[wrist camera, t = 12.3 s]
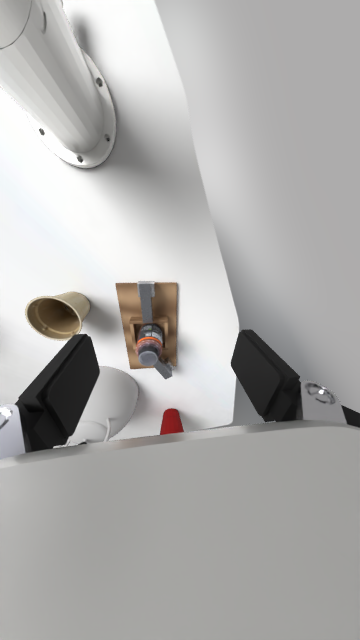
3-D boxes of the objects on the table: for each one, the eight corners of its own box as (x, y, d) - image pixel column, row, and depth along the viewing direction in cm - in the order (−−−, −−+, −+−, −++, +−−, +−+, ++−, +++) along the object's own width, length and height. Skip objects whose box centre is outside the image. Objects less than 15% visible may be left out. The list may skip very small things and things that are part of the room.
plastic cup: (151, 418, 59) (149, 456, 49) (165, 401, 56) (166, 438, 45) (175, 423, 63) (178, 460, 52) (189, 408, 59) (195, 444, 48)
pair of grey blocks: (138, 279, 35) (135, 283, 30) (172, 279, 35) (174, 283, 31) (147, 369, 47) (146, 381, 43) (173, 368, 48) (174, 379, 44)
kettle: (99, 423, 57) (65, 519, 37) (44, 392, 48) (-41, 499, 28) (152, 394, 53) (146, 484, 33) (104, 353, 44) (55, 446, 24)
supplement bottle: (148, 343, 43) (144, 374, 33) (135, 328, 40) (126, 356, 30) (166, 333, 42) (167, 361, 32) (153, 317, 39) (151, 342, 29)
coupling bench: (116, 283, 35) (112, 286, 32) (176, 282, 37) (177, 285, 34) (130, 367, 47) (128, 375, 44) (175, 364, 48) (176, 372, 45)
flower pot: (106, 304, 37) (91, 320, 29) (83, 328, 39) (64, 348, 32) (69, 275, 33) (41, 285, 26) (46, 303, 36) (15, 320, 28)
